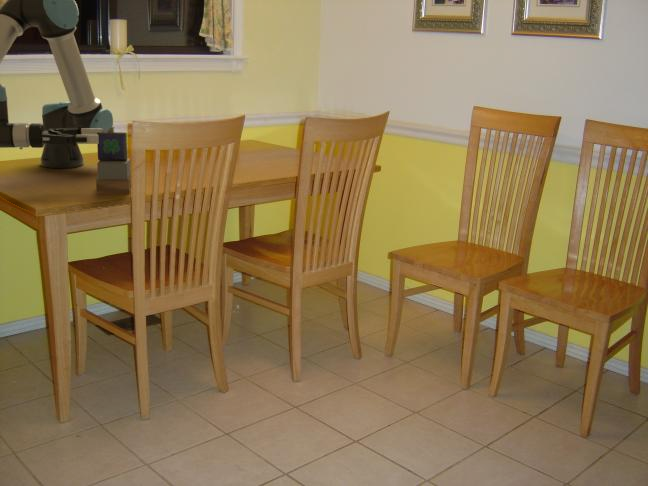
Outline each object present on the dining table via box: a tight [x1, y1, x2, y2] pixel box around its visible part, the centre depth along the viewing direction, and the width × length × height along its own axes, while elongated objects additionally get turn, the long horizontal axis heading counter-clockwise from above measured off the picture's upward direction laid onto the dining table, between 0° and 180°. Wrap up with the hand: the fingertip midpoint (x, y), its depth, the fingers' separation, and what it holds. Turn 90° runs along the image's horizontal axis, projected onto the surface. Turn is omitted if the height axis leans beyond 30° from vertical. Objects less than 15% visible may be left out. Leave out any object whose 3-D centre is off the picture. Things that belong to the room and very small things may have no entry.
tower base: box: [95, 173, 132, 195], centre depth 245 cm, size 10×10×5 cm
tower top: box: [96, 158, 132, 179], centre depth 243 cm, size 9×9×5 cm
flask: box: [96, 126, 129, 161], centre depth 242 cm, size 9×3×11 cm, turn 97°
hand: (100, 136), depth 240 cm, fingers open, 13 cm apart
